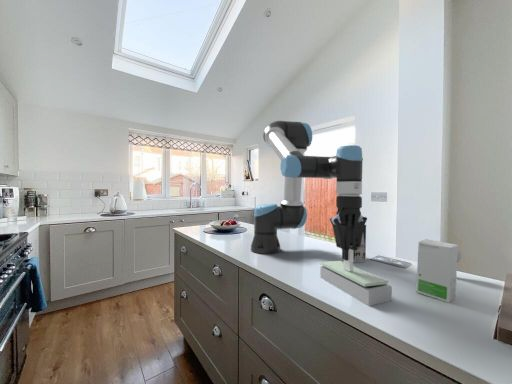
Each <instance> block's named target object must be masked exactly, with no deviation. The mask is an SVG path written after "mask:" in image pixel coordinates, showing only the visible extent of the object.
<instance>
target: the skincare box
mask: <svg viewBox="0 0 512 384" xmlns="http://www.w3.org/2000/svg"><path fill="white" fill-rule="evenodd" d="M417 246H418V249H417V250H418V252H417V269H416V284H415V286H416V287H415V288H416V290H415V291H416V293H419V294H422V295H425V296H426V297H427V296H428V297H430V298H433V299H436V300H439V301H442V302H445V303H448V304H450V302H451V301H452V300H453V299H454V298H456V289H457V288H456V287H457V273H458V272H457V270H458V263H457V256H458V250H459V245H458V244H455V243H450V242H444V241H439V240H433V239H428V238H426V239H423V240H420V241H418V245H417Z"/></svg>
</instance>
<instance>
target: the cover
mask: <svg viewBox="0 0 512 384" xmlns="http://www.w3.org/2000/svg"><path fill="white" fill-rule="evenodd" d="M343 263H344V261H342V260H332V261H330V260H329V261H320V263H319V264H320V265H321V266H324V267H326V268H328V269H330V270H332V271H334V272H336V273H338V274H340V275H342V276H344V277H346V278H348V279H350V280H352V281H354V282H356V283H358V284H360V285H362V286H364V287H366V286H374V285H382V284H387V285H389V280H388V279H387V280H386V279H384V278H382V277H380V276H378V275H375V274H373V273H371V272H368V271H366V270H362V269H361V268H358V267H356V266H354V265H353V271H350V272H349V271H347V270H345V269H343Z"/></svg>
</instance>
